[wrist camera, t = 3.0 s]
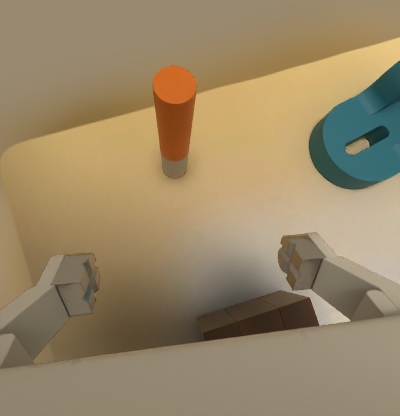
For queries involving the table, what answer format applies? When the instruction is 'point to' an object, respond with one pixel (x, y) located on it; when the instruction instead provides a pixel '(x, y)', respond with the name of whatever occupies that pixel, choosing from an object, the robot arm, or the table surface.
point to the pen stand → (259, 317)
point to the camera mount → (361, 135)
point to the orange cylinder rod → (174, 116)
